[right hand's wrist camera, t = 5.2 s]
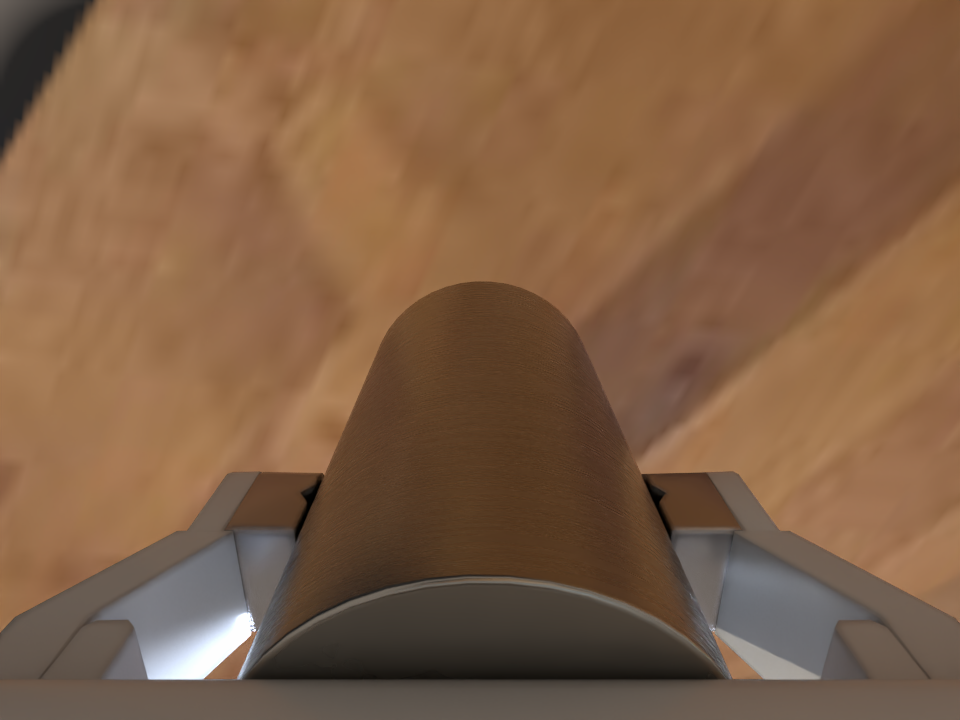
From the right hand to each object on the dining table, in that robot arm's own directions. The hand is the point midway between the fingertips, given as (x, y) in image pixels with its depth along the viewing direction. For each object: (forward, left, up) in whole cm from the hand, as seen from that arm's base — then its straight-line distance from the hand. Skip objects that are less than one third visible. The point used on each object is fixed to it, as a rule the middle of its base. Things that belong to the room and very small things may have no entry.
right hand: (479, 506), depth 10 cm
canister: (0, 0, -5) cm, 5 cm away
